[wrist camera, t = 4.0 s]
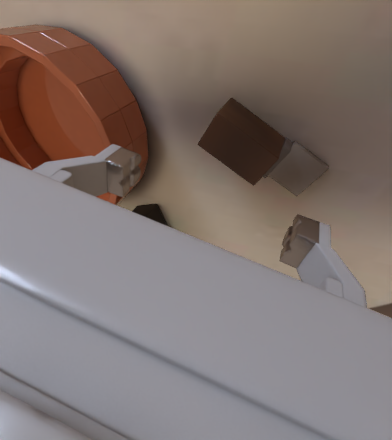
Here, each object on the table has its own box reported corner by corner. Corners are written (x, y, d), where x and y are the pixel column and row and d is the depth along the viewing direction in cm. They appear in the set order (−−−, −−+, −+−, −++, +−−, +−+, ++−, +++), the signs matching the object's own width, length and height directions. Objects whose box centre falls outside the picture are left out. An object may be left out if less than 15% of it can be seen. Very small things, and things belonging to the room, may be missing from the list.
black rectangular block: (134, 206, 28) (117, 225, 25) (159, 203, 26) (142, 223, 24) (165, 263, 32) (152, 284, 30) (187, 263, 30) (176, 285, 28)
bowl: (24, -31, 18) (-53, -36, 14) (184, 129, 21) (153, 158, 17) (-3, 120, 27) (-53, 140, 24) (110, 216, 30) (80, 246, 27)
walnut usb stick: (210, 129, 20) (195, 147, 18) (233, 93, 18) (219, 108, 16) (297, 193, 21) (293, 219, 18) (328, 166, 19) (328, 191, 16)
